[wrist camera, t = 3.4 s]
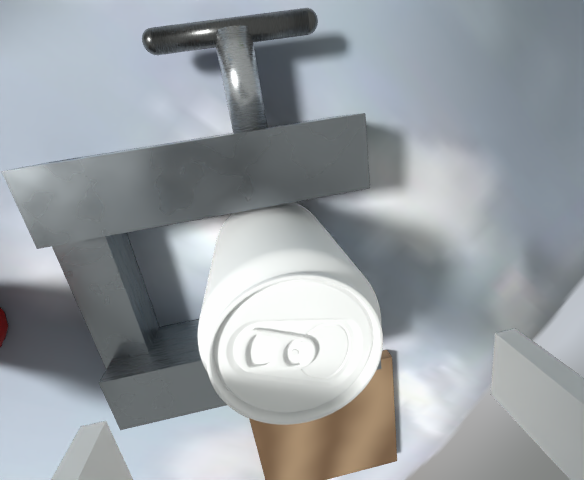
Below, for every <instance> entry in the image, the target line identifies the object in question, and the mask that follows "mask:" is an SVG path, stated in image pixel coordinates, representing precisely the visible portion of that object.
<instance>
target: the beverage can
mask: <svg viewBox="0 0 584 480" xmlns="http://www.w3.org/2000/svg"><path fill="white" fill-rule="evenodd" d="M198 347H199V352H200V356H201V359H202V362H203V365H204V367H205V369H206V371H207V373H208V375H209V378H210V381H211V383H212V385H213V387H214V389H215V391H216V392H217V394H218V395H219V397H220V398H221V399H222V400H223V401H224V402H225V403H226V404H227V405H228V406H229V407H231V408H232V409H233V410H235V411H236V412H238V413H240V414H241V415H243V416H245V417H248V418H250V419H253V420H256V421H259V422H264V423H269V424H279V425H289V424H299V423H305V422H309V421H313V420H317V419H320V418H322V417H325V416H327V415H329V414H332V413H334V412H335V411H337V410H339V409H341V408H342V407H344V406H345V405H347V404H348V403H349V402H351V401H352V400H353V399H354V398H355V397H357V396H358V395H359V394H360V393H361V392H362V391H363V389H364V388H365V387H366V386H367V384H368V383H369V382H370V380H371V379H372V377H373V375H374V374H375V372H376V370H377V367H378V365H379V362H380V359H381V355H382V349H383V332H382V327H381V312H380V307H379V303H378V300H377V297H376V294H375V292H374V290H373V288H372V286H371V285H370V283H369V282H368V280H367V279H366V278H365V276H364V275H363V274H362V273H361V272H360V270H359V269H358V268H357V267H356V265H355V264H354V263H353V262H352V261H351V259H350V258H349V257H348V256H347V255H346V253H345V252H344V251H343V250H342V249H341V247H340V246H339V245H338V244H337V243H336V241H335V240H334V239H333V238H332V237H331V235H330V234H329V233H328V232H327V230H326V229H325V228H324V227H323V226H322V224H321V223H320V222H319V221H318V220H317V218H316V217H315V216H314V215H313V214H312V213H311V212H310V211H309V210H307V209H306V208H305V207H303V206H301V205H300V204H298V203H295V202H292V203H286V204H281V205H275V206H270V207H264V208H259V209H253V210H248V211H242V212H237V213H233V214H232V215H231V216H230V217H229V218H228V219H227V220H226V221H225V223H224V224H223V226H222V228H221V229H220V231H219V234H218V237H217V240H216V244H215V249H214V254H213V258H212V263H211V267H210V272H209V277H208V281H207V286H206V291H205V295H204V300H203V305H202V309H201V314H200V319H199V324H198Z"/></svg>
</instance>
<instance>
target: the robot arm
mask: <svg viewBox="0 0 584 480" xmlns="http://www.w3.org/2000/svg"><path fill="white" fill-rule="evenodd" d="M491 395H492V396H493V397H494V398H495V399H496V401H497V402H498V403H499V404H500V405H501V406H502V407H503V408H504V409H505V410H506V411H507V412H508V414H510V416H511V417H512V418H513V419H514V420H515V421H516V422H517V423H518V424H519V425H520V426H521V427H522V429H523V430H524V431H525V432H526V433H527V434H528V435H529V436H530V437H531V438H532V439H533V440H534V441H535V442H536V444H537V445H538V446H539V447H540V448H541V449H542V450H543V451H544V452H545V453H546V454H547V455H548V456H549V457H550V459H552V461H553V462H554V463H555V464H556V465H557V466H558V467H559V468H560V469H561V470H562V471H563V472H564V474H565V475H566V476H567V477H568V478H569V479H570V480H584V378H583V377H582V376H580V375H579V374H577V373H576V372H575V371H573V370H572V369H571V368H569V367H568V366H566V365H565V364H564V363H562V362H561V361H560V360H558V359H557V358H556V357H554V356H553V355H551V354H550V353H548V352H547V351H546V350H545V349H543V348H542V347H540V346H539V345H538V344H536V343H535V342H534V341H532V340H531V339H529V338H528V337H527V336H525V335H524V334H523V333H521V332H520V331H518V330H517V329H516V328H515V329H510V330H506V331H502V332H497V333H495V341H494V354H493V367H492V380H491ZM51 480H133V479H132V476H131V474H130V472H129V470H128V468H127V465H126V463H125V461H124V459H123V457H122V455H121V452H120V450H119V448H118V446H117V444H116V442H115V439H114V437H113V435H112V433H111V431H110V429H109V426H108V424H107V422H106V421H103V422H98V423H94V424H89V425H85V426H81V427H80V428H79V430H78V432H77V434H76V436H75V437H74V439H73V441H72V443H71V445H70V446H69V448H68V450H67V452H66V454H65V456H64V457H63V459H62V461H61V463H60V465H59V466H58V468H57V470H56V472H55V474H54V475H53V477H52V479H51Z"/></svg>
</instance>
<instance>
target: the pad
mask: <svg viewBox="0 0 584 480" xmlns="http://www.w3.org/2000/svg"><path fill="white" fill-rule="evenodd" d="M249 419H250V418H249ZM250 423H251V427H252V430H253V434H254V438H255V442H256V446H257V449H258V453H259V457H260V461H261V465H262V468H263V472H264V476H265V480H327V479H331V478H334V477H338V476H342V475H346V474H350V473H353V472H357V471H361V470H365V469H369V468H372V467H376V466H380V465H384V464H388V463H391V462H395V461H397V449H396V428H395V408H394V387H393V367H392V356H391V355H390V353H389V352H388V350H384V351H382V355H381V369H379V370H376V372H375V374H374V375H373V377H372V379H371V380H370V382H369V383H368V384H367V386H366V387H365V388H364V389H363V391H362V392H361V393H360V394H359V395H358V396H357V397H355V398H354V399H353V400H352V401H351V402H349V403H348V404H347V405H345V406H344V407H342V408H341V409H339V410H337V411H335V412H334V413H332V414H329V415H327V416H325V417H322V418H320V419H317V420H313V421H309V422H305V423H299V424H289V425H279V424H269V423H264V422H259V421H256V420H253V419H250Z"/></svg>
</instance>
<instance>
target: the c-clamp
mask: <svg viewBox="0 0 584 480" xmlns="http://www.w3.org/2000/svg"><path fill="white" fill-rule="evenodd" d="M317 23H318V19H317V15H316V13H315V12H314V11H313V10H312V9H309V8H302V9H294V10H287V11H279V12H271V13H263V14H255V15H247V16H240V17H232V18H224V19H216V20H208V21H200V22H193V23H185V24H177V25H169V26H161V27H153V28H148V29H147V30H145V31H144V33H143V36H142V42H143V45H144V47H145V48H146V50H147V51H148V52H150V53H151V54H154V55H163V54H170V53H178V52H185V51H192V50H200V49H207V48H214V47H216V50H217V55H218V60H219V65H220V70H221V75H222V80H223V85H224V90H225V95H226V100H227V105H228V110H229V115H230V119H231V124H232V129H233V133H230V134H224V135H217V136H211V137H205V138H199V139H192V140H186V141H180V142H174V143H167V144H161V145H155V146H149V147H142V148H136V149H130V150H123V151H117V152H111V153H105V154H98V155H92V156H86V157H80V158H73V159H67V160H61V161H55V162H48V163H43V164H38V165H32V166H27V167H21V168H18V169H12V170H7V171H2V174H3V176H4V178H5V180H6V182H7V185H8V187H9V189H10V191H11V193H12V195H13V198H14V200H15V202H16V204H17V206H18V208H19V211H20V213H21V215H22V217H23V219H24V222H25V224H26V226H27V228H28V230H29V232H30V235H31V237H32V239H33V241H34V243H35V245H36V248H37V249H39V248H44V247H50V246H52V247H53V250H54V252H55V254H56V256H57V259H58V261H59V263H60V266H61V268H62V270H63V272H64V275H65V277H66V279H67V281H68V284H69V286H70V288H71V290H72V293H73V295H74V297H75V300H76V302H77V304H78V306H79V309H80V311H81V313H82V315H83V318H84V320H85V322H86V324H87V327H88V329H89V331H90V334H91V336H92V338H93V340H94V343H95V345H96V347H97V349H98V352H99V354H100V356H101V359H102V361H103V363H104V365H105V368H106V371H105V373H104V375H103V376H102V378H101V380H100V382H99V385H100V387H101V389H102V391H103V393H104V396H105V398H106V400H107V402H108V404H109V406H110V409H111V411H112V413H113V415H114V417H115V419H116V422H117V424H118V426H119V428H120V430H123V429H127V428H131V427H136V426H140V425H144V424H149V423H153V422H157V421H161V420H166V419H170V418H174V417H178V416H183V415H187V414H191V413H195V412H200V411H204V410H208V409H212V408H217V407H221V406H225V405H227V404H226V403H225V402H224V401H223V400H222V399H221V398H220V397H219V395H218V394H217V392H216V391H215V389H214V387H213V385H212V383H211V381H210V378H209V375H208V373H207V371H206V369H205V367H204V365H203V362H202V359H201V356H200V352H199V347H198V324H199V319H197V320H192V321H187V322H182V323H177V324H173V325H168V326H163V327H159V325H158V322H157V319H156V316H155V314H154V311H153V308H152V305H151V302H150V299H149V296H148V293H147V291H146V288H145V285H144V282H143V279H142V276H141V273H140V270H139V268H138V265H137V262H136V259H135V256H134V253H133V250H132V247H131V245H130V242H129V239H128V236H127V232H132V231H138V230H143V229H149V228H154V227H160V226H165V225H171V224H176V223H182V222H187V221H193V220H198V219H204V218H209V217H215V216H220V215H226V214H231V213H237V212H242V211H248V210H253V209H259V208H264V207H270V206H275V205H281V204H286V203H292V202H297V201H303V200H308V199H314V198H319V197H325V196H330V195H336V194H341V193H347V192H352V191H358V190H363V189H369V188H370V181H369V165H368V149H367V134H366V118H365V113H363V114H354V115H345V116H336V117H330V118H324V119H318V120H311V121H305V122H299V123H292V124H286V125H280V126H274V127H267V122H266V116H265V110H264V104H263V98H262V92H261V86H260V80H259V74H258V68H257V61H256V55H255V49H254V43H253V42H259V41H266V40H274V39H281V38H288V37H296V36H303V35H309V34H311V33H313V32H314V31H315V29H316V27H317ZM379 369H381V359H380V362H379V365H378V367H377V370H379Z"/></svg>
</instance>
